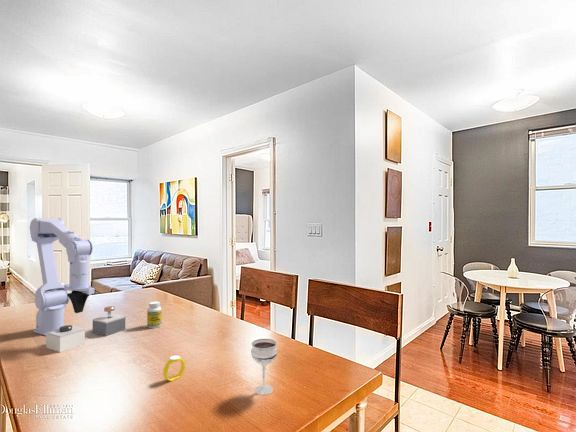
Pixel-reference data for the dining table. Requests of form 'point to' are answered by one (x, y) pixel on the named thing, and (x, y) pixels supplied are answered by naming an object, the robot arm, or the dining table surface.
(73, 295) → the robot arm
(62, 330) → the doorknob dark gray
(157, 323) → the supplement bottle
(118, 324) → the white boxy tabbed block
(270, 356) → the wineglass
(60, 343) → the press white
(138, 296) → the dining table surface
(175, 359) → the gold diamond ring
